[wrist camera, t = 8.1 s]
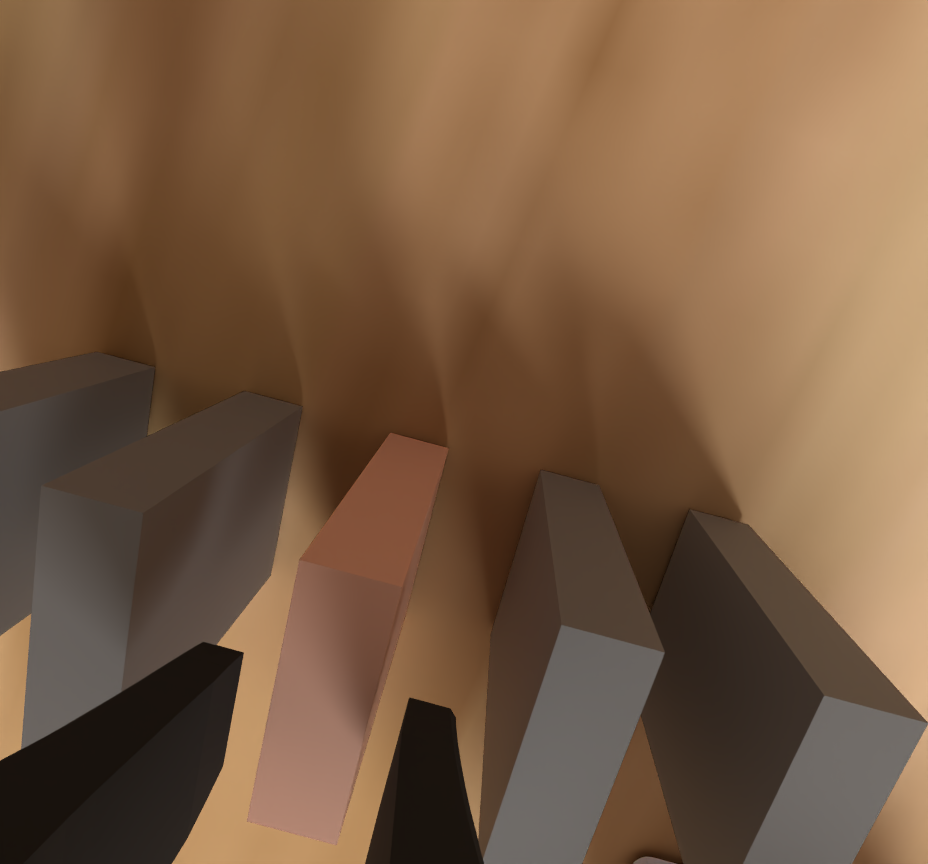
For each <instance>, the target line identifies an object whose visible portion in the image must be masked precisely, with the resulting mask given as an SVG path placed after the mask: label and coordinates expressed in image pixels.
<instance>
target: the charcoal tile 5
mask: <svg viewBox="0 0 928 864" xmlns="http://www.w3.org/2000/svg"><path fill="white" fill-rule="evenodd" d="M650 616H651V618H652V621H653V623H654V626H655V628H656V631H657V633H658V636H659V638H660V641H661V644H662V646H663V649H664V651H665V654H664V656H663V659H662V662H661V664H660V667H659V669H658V672H657V674H656V677H655V679H654V682H653V684H652V687H651V690H650V692H649V695H648V697H647V700H646V702H645V705H644V707H643V710H642V713H641V717H642V721H643V724H644V728H645V731H646V735H647V738H648V742H649V745H650V749H651V752H652V756H653V759H654V763H655V766H656V770H657V773H658V777H659V780H660V784H661V787H662V791H663V794H664V798H665V801H666V805H667V808H668V812H669V815H670V819H671V822H672V826H673V829H674V833H675V836H676V840H677V843H678V847H679V850H680V854H681V858H682V861H683V864H852V863H853V861H854V859H855V857H856V855H857V853H858V852H859V850H860V848H861V846H862V844H863V842H864V841H865V839H866V837H867V835H868V833H869V831H870V830H871V828H872V826H873V824H874V822H875V820H876V819H877V817H878V815H879V813H880V811H881V809H882V808H883V806H884V804H885V802H886V800H887V798H888V796H889V795H890V793H891V791H892V789H893V787H894V785H895V784H896V782H897V780H898V778H899V776H900V774H901V773H902V771H903V769H904V767H905V765H906V763H907V762H908V760H909V758H910V756H911V754H912V752H913V751H914V749H915V747H916V745H917V743H918V741H919V739H920V738H921V736H922V734H923V732H924V730H925V728H926V727H927V725H928V722H927V721H926V720H925V719H924V718H923V717H922V716H921V715H920V714H919V712H918V711H917V710H916V709H915V708H914V707H913V706H912V705H911V704H910V703H909V701H908V700H907V699H906V698H905V697H904V696H903V695H902V694H901V693H900V692H899V690H898V689H897V688H896V687H895V686H894V685H893V684H892V683H891V682H890V680H889V679H888V678H887V677H886V676H885V675H884V674H883V673H882V672H881V671H880V669H879V668H878V667H877V666H876V665H875V664H874V663H873V662H872V661H871V660H870V658H869V657H868V656H867V655H866V654H865V653H864V652H863V651H862V650H861V648H860V647H859V646H858V645H857V644H856V643H855V642H854V641H853V640H852V639H851V637H850V636H849V635H848V634H847V633H846V632H845V631H844V630H843V629H842V628H841V626H840V625H839V624H838V623H837V622H836V621H835V620H834V619H833V618H832V616H831V615H830V614H829V613H828V612H827V611H826V610H825V609H824V608H823V607H822V605H821V604H820V603H819V602H818V601H817V600H816V599H815V598H814V597H813V596H812V594H811V593H810V592H809V591H808V590H807V589H806V588H805V587H804V586H803V584H802V583H801V582H800V581H799V580H798V579H797V578H796V577H795V576H794V575H793V573H792V572H791V571H790V570H789V569H788V568H787V567H786V566H785V565H784V564H783V562H782V561H781V560H780V559H779V558H778V557H777V556H776V555H775V554H774V552H773V551H772V550H771V549H770V548H769V547H768V546H767V545H766V544H765V543H764V541H763V540H762V539H761V538H760V537H759V536H758V535H757V534H756V533H755V532H754V530H753V529H752V528H751V527H750V526H749V525H747V524H743V523H739V522H736V521H732V520H728V519H724V518H721V517H717V516H713V515H709V514H706V513H702V512H698V511H694V510H690V509H689V512H688V515H687V517H686V520H685V523H684V525H683V528H682V531H681V533H680V536H679V539H678V541H677V544H676V546H675V549H674V552H673V554H672V557H671V560H670V562H669V565H668V568H667V570H666V573H665V576H664V578H663V581H662V584H661V586H660V589H659V591H658V594H657V597H656V599H655V602H654V605H653V607H652V610H651V613H650Z"/></svg>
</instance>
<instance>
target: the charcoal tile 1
mask: <svg viewBox="0 0 928 864" xmlns="http://www.w3.org/2000/svg"><path fill="white" fill-rule="evenodd" d="M154 372H155V367H152V366H149V365H145V364H141V363H137V362H133V361H130V360H126V359H122V358H118V357H115V356H111V355H107V354H103V353H100V352H94V353H89V354H84V355H79V356H74V357H70V358H65V359H60V360H55V361H50V362H45V363H41V364H36V365H31V366H26V367H21V368H17V369H12V370H7V371H2V372H0V635H2V634H3V633H5V632H6V631H7V630H9V629H10V628H12V627H13V626H14V625H16V624H17V623H18V622H20V621H21V620H23V619H24V618H25V617H27V616H28V615H30V614H31V613H32V600H33V587H34V574H35V560H36V547H37V534H38V521H39V507H40V494H41V485H44V484H46V483H48V482H50V481H52V480H54V479H56V478H59V477H61V476H63V475H65V474H67V473H69V472H71V471H74V470H76V469H78V468H80V467H82V466H84V465H86V464H89V463H91V462H93V461H95V460H97V459H99V458H101V457H104V456H106V455H108V454H110V453H112V452H114V451H117V450H119V449H121V448H123V447H125V446H127V445H129V444H132V443H134V442H136V441H138V440H140V439H142V438H144V437H147V430H148V421H149V413H150V405H151V397H152V388H153V380H154Z"/></svg>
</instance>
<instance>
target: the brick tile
mask: <svg viewBox="0 0 928 864" xmlns="http://www.w3.org/2000/svg"><path fill="white" fill-rule="evenodd" d="M448 449H449V448H446V447H442V446H439V445H435V444H431V443H427V442H424V441H420V440H416V439H412V438H408V437H405V436H401V435H397V434H393V433H390V434H389V435H388V437H387V438H386V439H385V441H384V442H383V444H382V445H381V446H380V448H379V449H378V451H377V452H376V453H375V455H374V456H373V458H372V459H371V460H370V462H369V463H368V465H367V466H366V467H365V469H364V470H363V472H362V473H361V474H360V476H359V477H358V479H357V480H356V481H355V483H354V484H353V486H352V487H351V488H350V490H349V491H348V493H347V494H346V495H345V497H344V498H343V500H342V501H341V502H340V504H339V505H338V507H337V508H336V509H335V511H334V512H333V514H332V515H331V516H330V518H329V519H328V521H327V522H326V523H325V525H324V526H323V528H322V529H321V530H320V532H319V533H318V534H317V536H316V537H315V539H314V540H313V541H312V543H311V544H310V546H309V547H308V548H307V550H306V551H305V553H304V554H303V555H302V557H301V558H300V560H299V564H298V569H297V574H296V579H295V584H294V589H293V594H292V599H291V604H290V609H289V614H288V619H287V624H286V629H285V634H284V639H283V644H282V649H281V654H280V659H279V664H278V669H277V674H276V679H275V684H274V689H273V694H272V699H271V704H270V709H269V714H268V719H267V724H266V729H265V734H264V739H263V744H262V748H261V753H260V758H259V763H258V768H257V773H256V778H255V783H254V788H253V793H252V798H251V803H250V808H249V813H248V818H247V821H248V822H251V823H255V824H259V825H263V826H266V827H270V828H274V829H278V830H281V831H285V832H289V833H293V834H296V835H300V836H304V837H308V838H311V839H315V840H319V841H323V842H326V843H330V844H334V845H337V843H338V839H339V836H340V833H341V829H342V826H343V823H344V819H345V816H346V813H347V809H348V806H349V802H350V799H351V796H352V792H353V789H354V786H355V782H356V779H357V776H358V772H359V769H360V766H361V762H362V759H363V756H364V752H365V749H366V746H367V742H368V739H369V736H370V732H371V729H372V726H373V722H374V719H375V716H376V712H377V709H378V706H379V702H380V699H381V696H382V692H383V689H384V685H385V682H386V679H387V675H388V672H389V669H390V665H391V662H392V659H393V655H394V652H395V649H396V645H397V642H398V639H399V635H400V632H401V629H402V625H403V622H404V619H405V615H406V612H407V608H408V604H409V600H410V596H411V592H412V588H413V585H414V581H415V577H416V573H417V569H418V565H419V561H420V557H421V554H422V550H423V546H424V542H425V538H426V534H427V530H428V527H429V523H430V519H431V515H432V511H433V507H434V503H435V499H436V496H437V492H438V488H439V484H440V480H441V476H442V472H443V468H444V465H445V461H446V457H447V453H448Z"/></svg>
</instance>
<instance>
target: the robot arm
mask: <svg viewBox="0 0 928 864" xmlns="http://www.w3.org/2000/svg"><path fill="white" fill-rule="evenodd" d="M243 654H244V653H243V652H240V651H236V650H232V649H228V648H225V647H221V646H217V645H214V644H210V643H206V642H202V643H200V644H198V645H196V646H194V647H193V648H191V649H190V650H188V651H186V652H185V653H183V654H181V655H180V656H178V657H177V658H175V659H173V660H172V661H170V662H169V663H167V664H165V665H164V666H162V667H161V668H159V669H157V670H156V671H154V672H153V673H151V674H149V675H148V676H146V677H145V678H143V679H141V680H140V681H138V682H137V683H135V684H133V685H132V686H130V687H128V688H127V689H125V690H124V691H122V692H120V693H119V694H117V695H115V696H114V697H112V698H110V699H109V700H107V701H105V702H104V703H102V704H100V705H98V706H97V707H95V708H93V709H92V710H90V711H88V712H87V713H85V714H83V715H82V716H80V717H78V718H76V719H75V720H73V721H71V722H70V723H68V724H66V725H65V726H63V727H61V728H59V729H58V730H56V731H54V732H52V733H51V734H49V735H47V736H45V737H43V738H42V739H40V740H38V741H36V742H34V743H32V744H30V745H28V746H27V747H25V748H23V749H21V750H19V751H17V752H15V753H14V754H12V755H10V756H8V757H6V758H4V759H2V760H1V761H0V864H172V862H173V861H174V859H175V858H176V856H177V854H178V853H179V851H180V849H181V848H182V846H183V845H184V843H185V841H186V840H187V838H188V836H189V834H190V832H191V830H192V828H193V826H194V824H195V822H196V820H197V818H198V816H199V814H200V812H201V810H202V808H203V806H204V804H205V802H206V800H207V798H208V796H209V794H210V792H211V790H212V788H213V786H214V784H215V782H216V779H217V777H218V775H219V773H220V771H221V769H222V767H223V763H224V758H225V752H226V747H227V742H228V736H229V731H230V725H231V720H232V714H233V709H234V703H235V698H236V692H237V687H238V682H239V676H240V671H241V665H242V660H243ZM365 864H484V861H483V858H482V854H481V850H480V846H479V842H478V838H477V834H476V830H475V826H474V822H473V818H472V814H471V810H470V806H469V802H468V797H467V792H466V788H465V782H464V777H463V772H462V767H461V761H460V755H459V748H458V740H457V731H456V717H455V715H454V714H453V712H452V710H451V709H450V708H446V707H443V706H439V705H435V704H432V703H428V702H424V701H421V700H417V699H413V698H409V701H408V704H407V708H406V712H405V715H404V719H403V723H402V726H401V730H400V734H399V737H398V741H397V745H396V749H395V752H394V756H393V760H392V763H391V767H390V771H389V774H388V778H387V782H386V785H385V789H384V793H383V796H382V800H381V804H380V808H379V811H378V815H377V819H376V823H375V827H374V831H373V835H372V839H371V843H370V847H369V851H368V855H367V859H366V863H365ZM633 864H676V863H672V862H668V861H665V860H661V859H657V858H654V857H642V858H639V859H638V860H636V861H635V862H634V863H633Z"/></svg>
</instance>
